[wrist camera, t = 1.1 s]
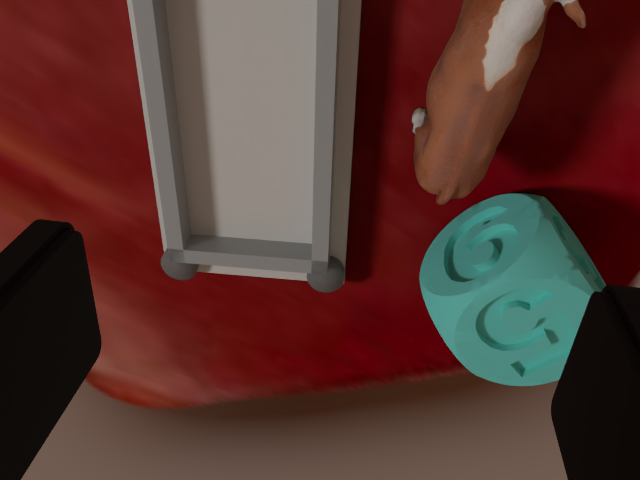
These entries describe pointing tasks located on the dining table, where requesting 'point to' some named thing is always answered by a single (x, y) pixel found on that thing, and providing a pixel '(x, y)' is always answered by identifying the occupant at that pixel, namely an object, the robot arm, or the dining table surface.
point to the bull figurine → (478, 90)
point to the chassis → (250, 133)
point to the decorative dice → (509, 288)
